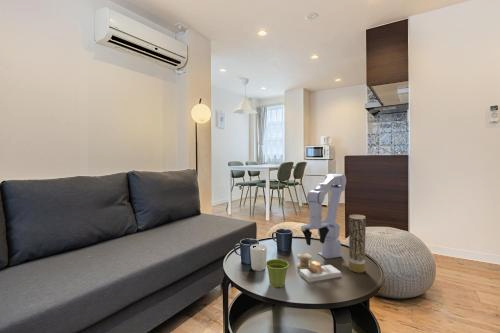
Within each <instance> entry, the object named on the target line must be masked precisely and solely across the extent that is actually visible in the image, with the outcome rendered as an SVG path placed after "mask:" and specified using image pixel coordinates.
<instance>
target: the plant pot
mask: <svg viewBox="0 0 500 333" xmlns="http://www.w3.org/2000/svg"><path fill="white" fill-rule="evenodd" d="M289 266H290V264H289V262H288V261H286V260H284V259H281V258H280V259H278V258H271V259H269V260H266V269H267V273H268V274H267V275H268V281H269V285H270V287H273V288H282V287H284V286H285V283H286V278H287V277H286V276H287V272H288V271H287V270H288V268H289Z"/></svg>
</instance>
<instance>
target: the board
mask: <svg viewBox="0 0 500 333" xmlns="http://www.w3.org/2000/svg"><path fill="white" fill-rule="evenodd" d="M299 275H300V276H301V277H302V278H303V279H305V281H307V282H308V283H312V282H313V283H314V282H318V281H323V280H330V279H334V278H336V279H337V278H341V277H342V272H341V271H340V270H339V269H337V268H336V267H334V266H333V265H331V264H326V265H321V273H315V274H313V273H311V272H310V269H309V270H308V269H299Z"/></svg>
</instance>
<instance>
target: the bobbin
mask: <svg viewBox="0 0 500 333" xmlns="http://www.w3.org/2000/svg"><path fill="white" fill-rule="evenodd" d="M296 258H297V259H298V260H299V262H297V263H296V267H297V268H298V269H299V270H300V269H308V270H309V271H310V260H312V259H313V256H312V255H311V254H310V253H304V252H302V253H298V254H296Z"/></svg>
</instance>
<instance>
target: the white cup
mask: <svg viewBox="0 0 500 333" xmlns="http://www.w3.org/2000/svg"><path fill="white" fill-rule="evenodd" d="M253 246H256V247H254V248H253ZM249 249H250V250H249V251H250V264H251V265H250V266H251V269H252V270H253V271H257V272H260V271H265V270H266V269H267V266H266V262H267V258H268V257H267V256H268V255H267V253H268V251H267V250H268V246H267V245H266V244H261V243H256V244H251V245H250V247H249Z"/></svg>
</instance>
